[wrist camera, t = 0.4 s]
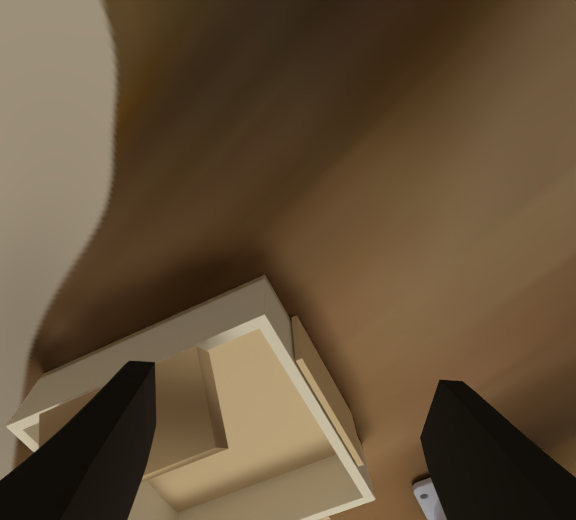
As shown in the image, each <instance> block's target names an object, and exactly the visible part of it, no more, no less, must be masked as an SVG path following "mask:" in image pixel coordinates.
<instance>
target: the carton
mask: <svg viewBox="0 0 576 520" xmlns="http://www.w3.org/2000/svg"><path fill="white" fill-rule="evenodd" d="M291 319H292V321H291ZM291 319H290V318H289V316H288V314H287V312H286V311H285V309H284V307H283V305H282V304H281V302H280V300H279V298H278V297H277V295H276V293H275V291H274V289H273V288H272V286H271V284H270V282H269V281H268V279H267V277H266V275H262V276H260V277H258V278H256V279H253V280H251V281H249V282H247V283H245V284H242V285H240V286H238V287H236V288H233V289H231V290H229V291H227V292H224V293H222V294H220V295H218V296H216V297H213V298H211V299H209V300H207V301H204V302H202V303H200V304H198V305H196V306H193V307H191V308H189V309H187V310H184V311H182V312H180V313H178V314H175V315H173V316H171V317H169V318H167V319H164V320H162V321H160V322H158V323H155V324H153V325H151V326H149V327H146V328H144V329H142V330H140V331H138V332H135V333H133V334H131V335H129V336H126V337H124V338H122V339H120V340H117V341H115V342H113V343H111V344H109V345H106V346H104V347H102V348H100V349H97V350H95V351H93V352H91V353H88V354H86V355H84V356H82V357H80V358H77V359H75V360H73V361H71V362H68V363H66V364H64V365H62V366H59V367H57V368H55V369H53V370H51V371H48V372H46V373H44V374H42V376H41V377H40V379H39V380H38V382H37V383H36V384H35V386H34V387H33V389H32V390H31V391H30V393H29V394H28V396H27V397H26V399H25V400H24V401H23V403H22V404H21V406H20V407H19V408H18V410H17V411H16V413H15V414H14V416H13V417H12V418H11V420H10V421H9V423H8V424H7V425H6V427H7V428H8V429H9V430H11V432H12V433H14V434H15V435H16V436H17V437H18V438H19V439H20V440H21V441H22V442H23V443H24V444H25V445H27V446H28V447H29V448H30V449H31V450H32V451H33V452H35V451H36V450H37V449H39V414H41V413H43V412H45V411H48V410H50V409H52V408H55V407H57V406H59V405H61V404H64V403H66V402H68V401H71V400H73V399H75V398H78V397H80V396H82V395H85V394H87V393H89V392H92V391H94V390H96V389H99V388H101V387H103V386H105V385H106V384H107V383H108V382H109V381H110V379H111V378H112V377H113V376H114V375H115V374H116V373H117V372H118V371H119V370H120V369H121V368H122V367H123V366H124V365H125V364H126V363H127V362H128V361H145V362H155V364H156V363H159V362H161V361H163V360H166V359H168V358H170V357H173V356H175V355H177V354H180V353H182V352H184V351H187V350H189V349H191V348H193V347H196V346H197V347H199V348H201V349H203V350H205V351H208V352H209V355H210V360H211V365H212V370H213V375H214V380H215V385H216V389H217V394H218V399H219V404H220V409H221V414H222V419H223V424H224V428H225V433H226V438H227V443H228V448H229V449H226V450H224V451H221V452H219V453H216V454H213V455H211V456H208V457H206V458H203V459H201V460H198V461H195V462H193V463H190V464H188V465H185V466H182V467H180V468H177V469H175V470H172V471H169V472H167V473H164V474H162V475H159V476H156V477H154V478H151V479H149V480H146V481H144V482H141V483H140V486H139V489H138V492H137V495H136V497H135V500H134V503H133V506H132V508H131V511H130V514H129V517H128V520H331V517H330V515H333V514H336V513H339V512H342V511H345V510H347V509H350V508H353V507H356V506H359V505H362V504H365V503H368V502H371V501H373V500H376V499H375V495H374V491H373V487H372V483H371V479H370V475H369V471H368V467H367V463H366V459H365V455H364V451H363V447H362V444H361V442H360V441H359V439H358V437H357V434H356V429H355V425H354V421H353V417H352V413H351V411H350V410H349V408H348V406H347V404H346V402H345V401H344V399H343V397H342V395H341V393H340V392H339V390H338V388H337V386H336V385H335V383H334V381H333V379H332V377H331V376H330V374H329V372H328V370H327V368H326V367H325V365H324V363H323V361H322V359H321V358H320V356H319V354H318V352H317V350H316V349H315V347H314V345H313V343H312V342H311V340H310V338H309V336H308V334H307V333H306V331H305V329H304V327H303V325H302V324H301V322H300V320H299V318H298V316H297V315H296V316H293V317H291Z"/></svg>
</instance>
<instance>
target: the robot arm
mask: <svg viewBox="0 0 576 520" xmlns="http://www.w3.org/2000/svg"><path fill="white" fill-rule="evenodd" d="M155 429H156V382H155V362H145V361H128V362H127V363H126V364H125V365H124V366H123V367H122V368H121V369H120V370H119V371H118V372H117V373H116V374H115V375H114V376H113V377H112V378H111V379H110V381H109V382H108V383H107V384H106V385H105V386H104V387H103V388H102V389H101V390H100V391H99V392H98V393H97V394H96V395H95V396H94V397H93V398H92V399H91V400H90V401H89V402H88V403H87V404H86V405H85V406H84V407H83V408H82V409H81V410H80V411H79V412H78V413H77V414H76V415H75V416H74V417H73V418H72V419H71V420H70V421H69V422H67V423H66V424H65V425H64V426H63V427H62V428H61V429H60V430H59V431H58V432H57V433H56V434H54V435H53V436H52V437H51V438H50V439H49V440H48V441H46V442H45V443H44V444H43V445H42V446H41V447H40V448H39V449H37V450H36V451H35V452H34V453H33V454H32V455H31V456H30V457H28V458H27V459H26V460H25V461H24V462H22V463H21V464H20V465H19V466H18V467H16V468H15V469H14V470H13V471H11V472H10V473H9V474H8V475H7V476H5V477H4V478H3V479H2V480H0V520H128V517H129V514H130V511H131V508H132V506H133V503H134V500H135V497H136V495H137V492H138V489H139V486H140V483H141V480H142V478H143V475H144V472H145V469H146V466H147V462H148V458H149V454H150V450H151V446H152V442H153V437H154V433H155ZM420 439H421V443H422V447H423V451H424V455H425V459H426V463H427V467H428V470H429V474H430V478H428V479H425V480H422V481H419V482H417V483H415V484H414V485H413V487H412V489H413V492H414V495H415V497H416V498H417V500H418V502H419V504H420V506H421V508H422V510H423V512H424V514H425V515H426V517H427V519H428V520H576V477H574V476H573V475H572V474H571V473H569V472H568V471H567V470H565V469H564V468H563V467H562V466H560V465H559V464H558V463H557V462H556V461H554V460H553V459H552V458H551V457H550V456H548V455H547V454H546V453H545V452H544V451H542V450H541V449H540V448H539V447H538V446H536V445H535V444H534V443H533V442H532V441H531V440H529V439H528V438H527V437H526V436H525V435H524V434H523V433H521V432H520V431H519V430H518V429H517V428H516V427H515V426H513V425H512V424H511V423H510V422H509V421H508V420H507V419H506V418H504V417H503V416H502V415H501V414H500V413H499V412H498V411H497V410H495V409H494V408H493V407H492V406H491V405H490V404H489V403H487V402H486V401H485V400H484V399H483V398H482V397H481V396H480V395H478V394H477V393H476V392H475V391H474V390H473V389H471V388H470V387H469V386H468V385H466V384H465V383H464V382H463V381H451V380H439V383H438V386H437V389H436V392H435V395H434V398H433V401H432V404H431V407H430V410H429V413H428V416H427V419H426V422H425V425H424V428H423V431H422V434H421V437H420Z"/></svg>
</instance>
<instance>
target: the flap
mask: <svg viewBox="0 0 576 520" xmlns="http://www.w3.org/2000/svg"><path fill="white" fill-rule="evenodd" d="M155 382H156V429H155V433H154V437H153V442H152V446H151V450H150V454H149V458H148V462H147V466H146V469H145V472H144V475H143V478H142V480H141V482H144V481H146V480H149V479H151V478H154V477H156V476H159V475H162V474H164V473H167V472H169V471H172V470H175V469H177V468H180V467H182V466H185V465H188V464H190V463H193V462H195V461H198V460H201V459H203V458H206V457H208V456H211V455H213V454H216V453H219V452H221V451H224V450H226V449H229V448H228V443H227V438H226V433H225V428H224V424H223V419H222V414H221V409H220V404H219V399H218V394H217V389H216V385H215V380H214V375H213V370H212V365H211V360H210V355H209V352H208V351H205V350H203V349H201V348H199V347H197V346H196V347H193V348H191V349H189V350H187V351H184V352H182V353H180V354H177V355H175V356H173V357H170V358H168V359H166V360H163V361H161V362H159V363H156V364H155ZM103 387H104V386H103ZM103 387H101V388H99V389H96V390H94V391H92V392H89V393H87V394H85V395H82V396H80V397H78V398H75V399H73V400H71V401H68V402H66V403H64V404H61V405H59V406H57V407H55V408H52V409H50V410H48V411H45V412H43V413H41V414H39V448H40V447H41V446H42V445H43V444H44V443H45V442H46V441H48V440H49V439H50V438H51V437H52V436H53V435H54V434H56V433H57V432H58V431H59V430H60V429H61V428H62V427H63V426H64V425H65V424H66V423H67V422H69V421H70V420H71V419H72V418H73V417H74V416H75V415H76V414H77V413H78V412H79V411H80V410H81V409H82V408H83V407H84V406H85V405H86V404H87V403H88V402H89V401H90V400H91V399H92V398H93V397H94V396H95V395H96V394H97V393H98V392H99V391H100V390H101V389H102V388H103Z"/></svg>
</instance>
